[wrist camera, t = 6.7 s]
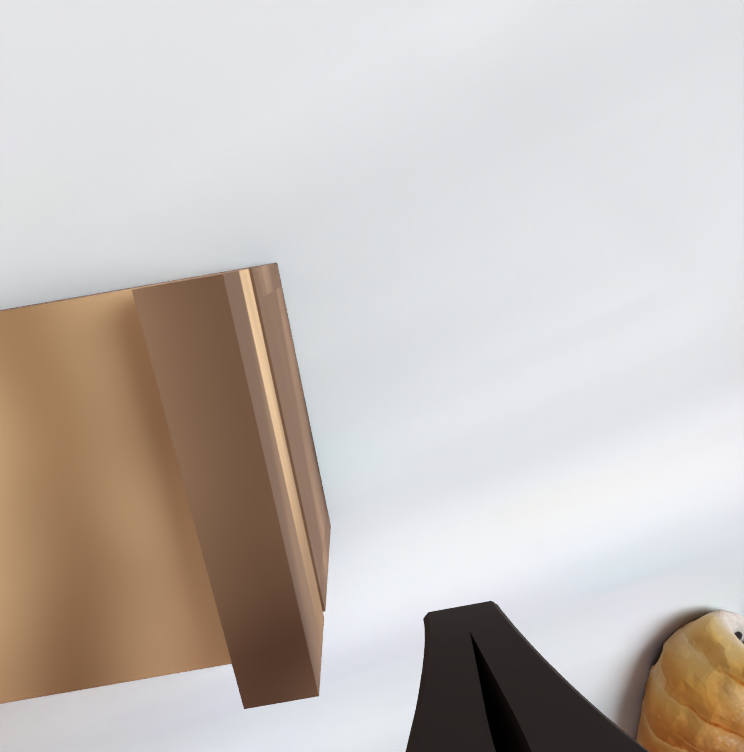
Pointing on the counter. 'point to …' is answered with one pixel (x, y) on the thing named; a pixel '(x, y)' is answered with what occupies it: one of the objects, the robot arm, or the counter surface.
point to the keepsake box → (288, 412)
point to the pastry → (697, 689)
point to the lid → (149, 497)
